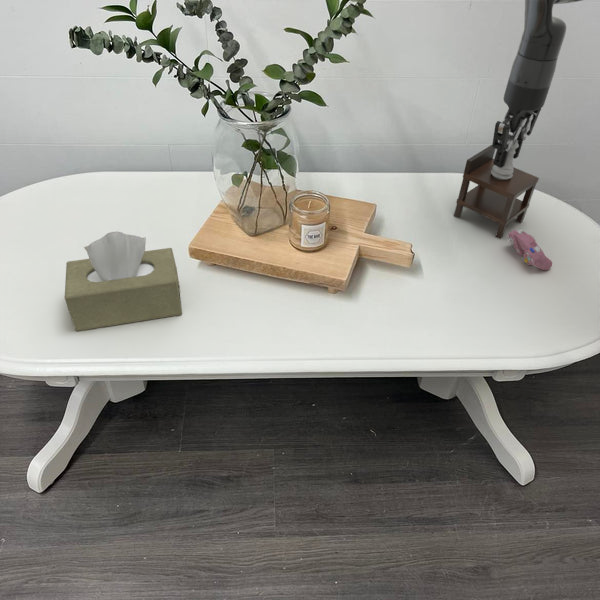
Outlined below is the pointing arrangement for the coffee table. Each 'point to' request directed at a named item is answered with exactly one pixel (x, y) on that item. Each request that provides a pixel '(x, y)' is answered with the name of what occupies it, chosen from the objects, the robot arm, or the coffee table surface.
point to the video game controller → (529, 249)
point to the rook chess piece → (506, 164)
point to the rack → (494, 191)
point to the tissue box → (121, 283)
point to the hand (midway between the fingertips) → (505, 160)
